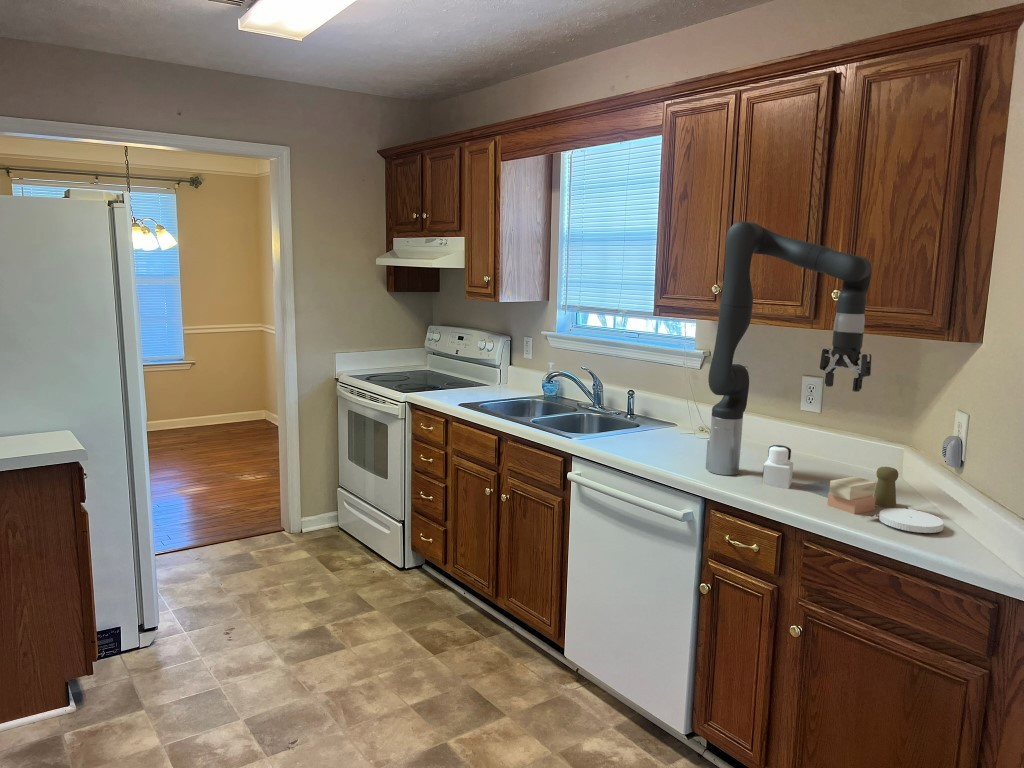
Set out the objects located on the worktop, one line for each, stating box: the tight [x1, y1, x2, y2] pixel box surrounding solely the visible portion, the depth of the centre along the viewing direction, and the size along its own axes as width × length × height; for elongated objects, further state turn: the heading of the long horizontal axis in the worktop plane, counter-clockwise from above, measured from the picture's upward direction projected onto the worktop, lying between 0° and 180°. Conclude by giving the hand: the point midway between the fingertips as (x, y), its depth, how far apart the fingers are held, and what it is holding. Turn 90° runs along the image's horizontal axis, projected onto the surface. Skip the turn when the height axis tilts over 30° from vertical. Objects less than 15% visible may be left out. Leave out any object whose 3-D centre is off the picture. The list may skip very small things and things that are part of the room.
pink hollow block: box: [826, 492, 876, 515], centre depth 194 cm, size 8×8×4 cm
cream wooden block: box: [829, 476, 877, 500], centre depth 193 cm, size 6×10×4 cm, turn 119°
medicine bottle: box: [761, 444, 794, 490], centre depth 214 cm, size 7×7×12 cm
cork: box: [874, 466, 899, 509], centre depth 197 cm, size 6×6×11 cm
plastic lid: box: [878, 507, 945, 534], centre depth 184 cm, size 14×14×2 cm
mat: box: [792, 481, 830, 499], centre depth 210 cm, size 12×12×1 cm
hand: (842, 388), depth 206 cm, fingers open, 8 cm apart
